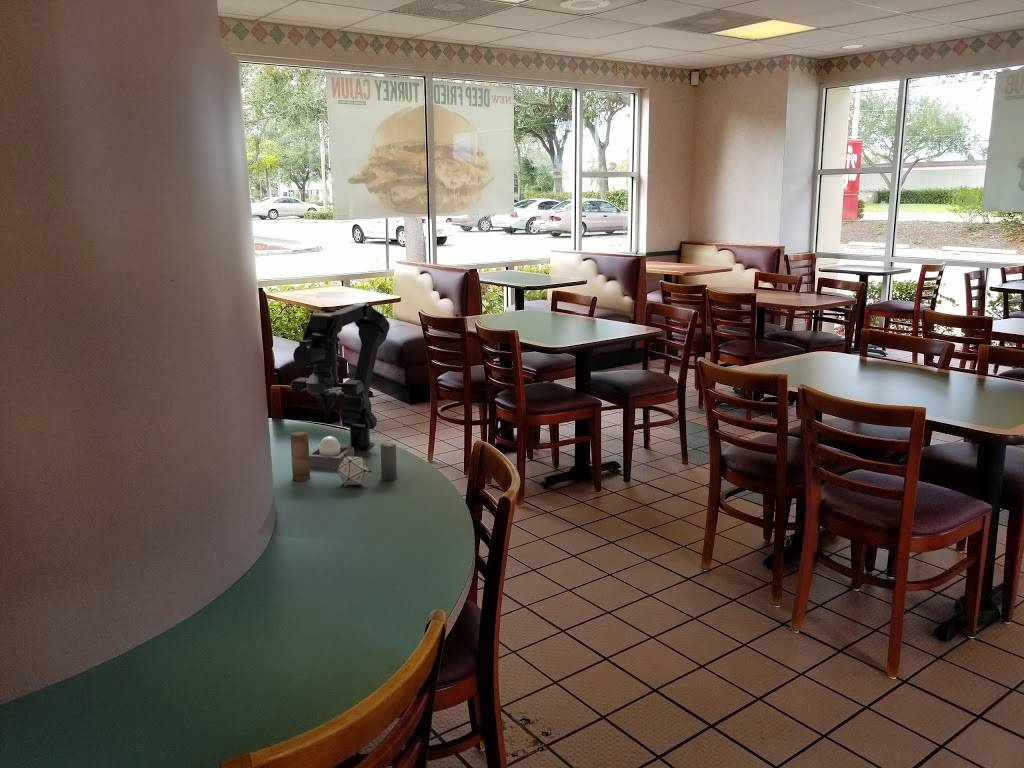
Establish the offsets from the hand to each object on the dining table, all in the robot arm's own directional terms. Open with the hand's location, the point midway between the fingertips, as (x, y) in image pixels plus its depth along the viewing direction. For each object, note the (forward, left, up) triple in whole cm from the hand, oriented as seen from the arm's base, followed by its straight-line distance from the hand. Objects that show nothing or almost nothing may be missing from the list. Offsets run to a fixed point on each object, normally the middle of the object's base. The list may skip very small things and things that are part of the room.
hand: (328, 417), depth 225 cm
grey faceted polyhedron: (+16, +13, -13) cm, 24 cm away
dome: (0, 0, -11) cm, 11 cm away
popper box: (0, 0, -13) cm, 13 cm away
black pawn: (+9, +20, -13) cm, 25 cm away
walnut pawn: (+14, -2, -13) cm, 19 cm away
